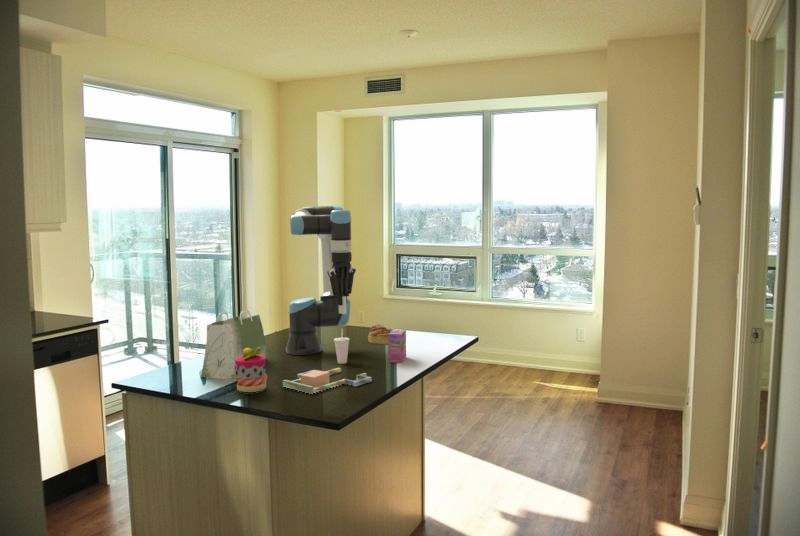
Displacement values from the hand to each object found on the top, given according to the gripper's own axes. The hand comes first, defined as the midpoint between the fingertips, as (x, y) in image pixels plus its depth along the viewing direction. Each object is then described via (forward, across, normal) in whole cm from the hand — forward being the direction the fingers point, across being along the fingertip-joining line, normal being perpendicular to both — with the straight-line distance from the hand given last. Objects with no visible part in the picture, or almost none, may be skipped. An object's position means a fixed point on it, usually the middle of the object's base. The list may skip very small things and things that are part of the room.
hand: (342, 313), depth 233 cm
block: (+22, -20, -7) cm, 31 cm away
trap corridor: (+22, -15, -7) cm, 27 cm away
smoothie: (+23, +9, +10) cm, 27 cm away
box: (+23, +26, -5) cm, 35 cm away
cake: (+22, -37, +8) cm, 44 cm away
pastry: (+25, +50, +26) cm, 61 cm away
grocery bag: (+23, -23, +38) cm, 50 cm away
